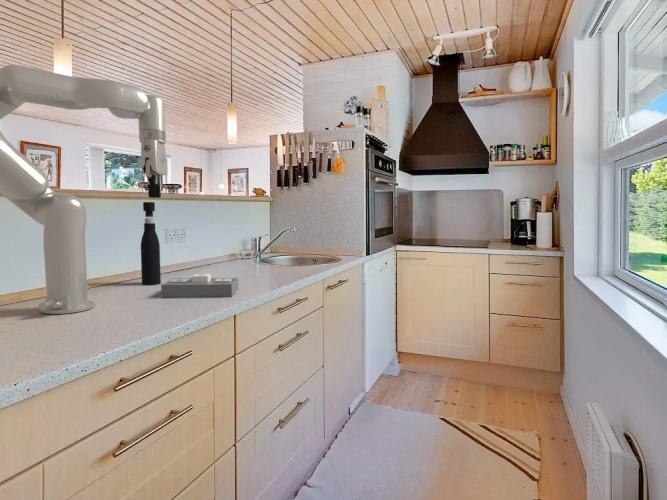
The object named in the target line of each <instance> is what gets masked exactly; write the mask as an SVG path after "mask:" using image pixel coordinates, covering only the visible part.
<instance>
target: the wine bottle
mask: <svg viewBox="0 0 667 500" xmlns="http://www.w3.org/2000/svg"><path fill="white" fill-rule="evenodd" d="M142 208H143V212H145V213H144V214H145V217H146V218H144V223H143V234H142V237H141V241H140V269H141V285H143V286H156V285H160V284H161V283H162V282H161V281H162V280H161V279H162V277H161V276H162V275H161V249H160V248H161V247H160V240H159V236H158V235H157V231H156V223H155V218H154V212H155V211H156V206H155V202H153V201H143V203H142Z"/></svg>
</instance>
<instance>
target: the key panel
mask: <svg viewBox="0 0 667 500" xmlns="http://www.w3.org/2000/svg"><path fill="white" fill-rule="evenodd" d="M230 278H232V282H222V283H214V281H215V280H216V279H230ZM173 279H190V281H189V282H187V283H170V281H172V280H173ZM160 286H161V288H160V289H161V298H170V299H171V298H232V297H233V296H234V295H235V294H236V293H237V291H238V290H239V277H211V281H210V282H209V283H192V277H178V278H177V277H176V278H175V277H174V278H172V279H170V280H168V281H166V282H164V283H162V284H161V285H160Z"/></svg>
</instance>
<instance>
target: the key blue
mask: <svg viewBox="0 0 667 500" xmlns="http://www.w3.org/2000/svg"><path fill="white" fill-rule="evenodd" d="M172 279H173V280H172ZM172 279H171V280H172V281H170V280H169V281H170V283H187V282H189V281H190V279H174V278H172Z"/></svg>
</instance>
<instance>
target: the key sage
mask: <svg viewBox="0 0 667 500" xmlns="http://www.w3.org/2000/svg"><path fill="white" fill-rule="evenodd" d="M229 278H230V279H216V280H215V281H214V283H222V282H232V278H233V277H229Z"/></svg>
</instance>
